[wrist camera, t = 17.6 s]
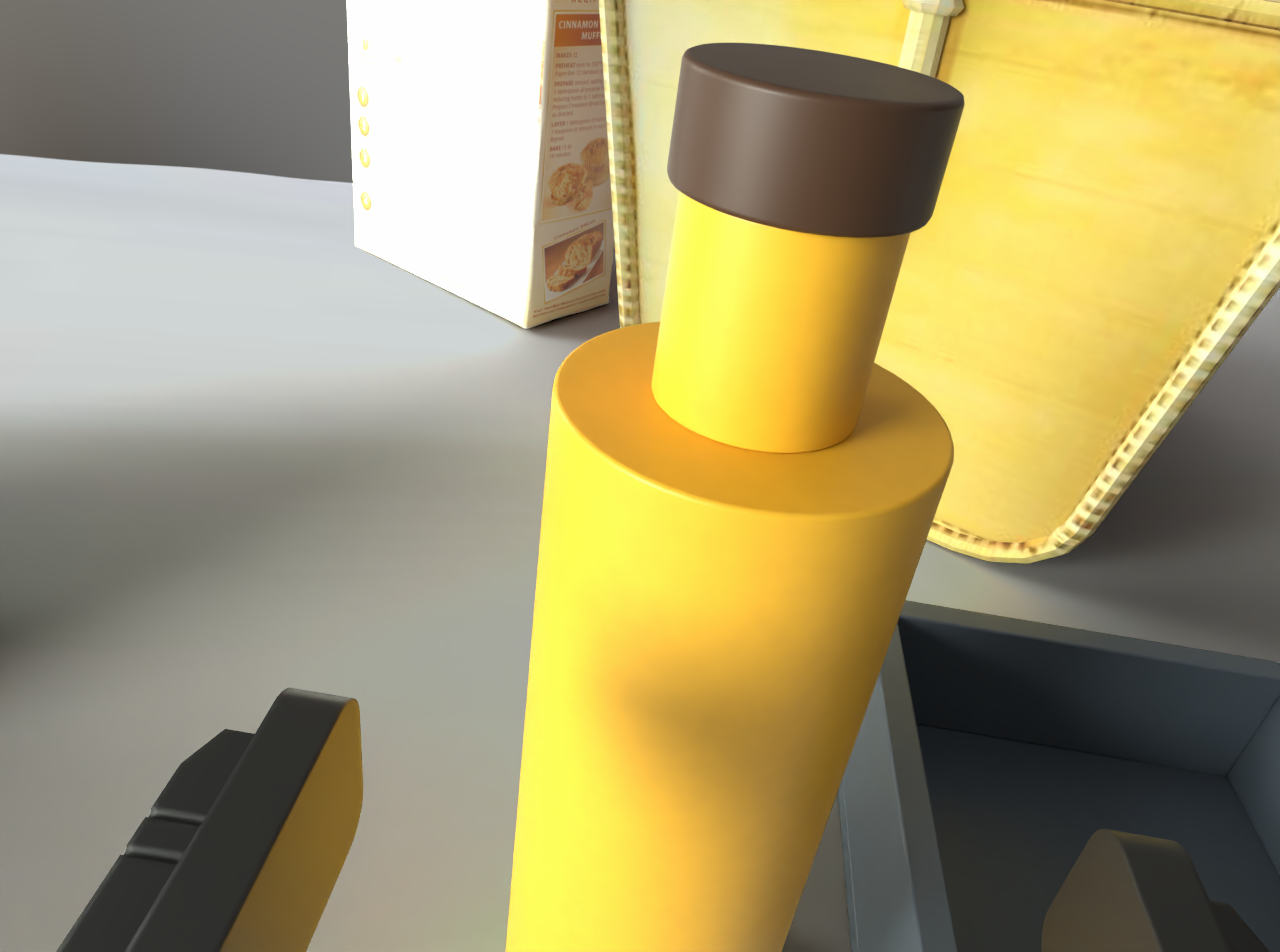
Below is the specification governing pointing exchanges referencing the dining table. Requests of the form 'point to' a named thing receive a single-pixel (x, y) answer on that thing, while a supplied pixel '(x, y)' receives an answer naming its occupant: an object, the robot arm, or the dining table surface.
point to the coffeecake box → (484, 149)
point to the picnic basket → (1022, 224)
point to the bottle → (731, 517)
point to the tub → (1049, 776)
